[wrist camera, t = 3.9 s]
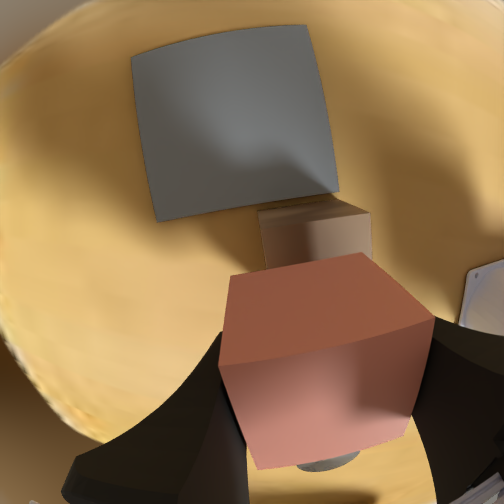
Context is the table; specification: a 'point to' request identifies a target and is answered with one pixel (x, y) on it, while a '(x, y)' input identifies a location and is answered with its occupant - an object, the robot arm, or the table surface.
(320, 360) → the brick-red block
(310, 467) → the grey metal cylinder
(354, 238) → the walnut block
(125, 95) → the table surface
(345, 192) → the table surface
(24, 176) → the table surface
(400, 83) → the table surface
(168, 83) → the slate mat
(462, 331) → the robot arm
